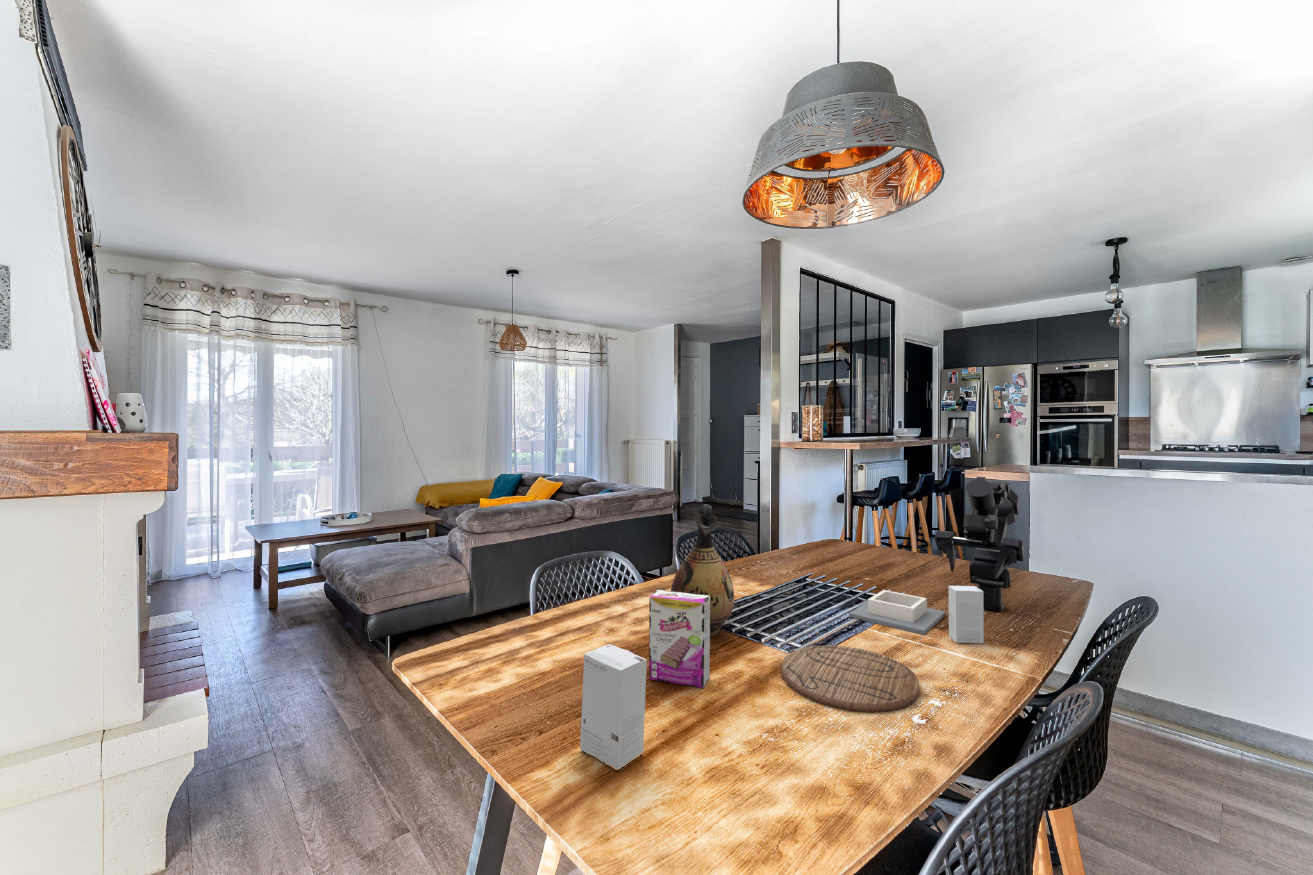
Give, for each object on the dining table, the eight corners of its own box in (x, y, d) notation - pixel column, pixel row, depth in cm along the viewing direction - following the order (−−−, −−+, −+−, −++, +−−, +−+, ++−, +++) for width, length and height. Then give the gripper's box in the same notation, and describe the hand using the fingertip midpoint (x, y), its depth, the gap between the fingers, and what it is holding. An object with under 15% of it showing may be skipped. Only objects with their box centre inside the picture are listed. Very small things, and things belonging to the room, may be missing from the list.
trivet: (910, 729, 88) (910, 718, 88) (763, 691, 101) (763, 681, 101) (925, 671, 110) (925, 661, 110) (802, 645, 123) (802, 637, 123)
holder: (883, 602, 148) (883, 589, 148) (926, 611, 141) (926, 598, 141) (867, 612, 140) (868, 599, 140) (913, 623, 133) (913, 608, 133)
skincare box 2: (974, 637, 126) (975, 585, 126) (984, 644, 122) (984, 591, 122) (947, 636, 127) (947, 585, 127) (955, 643, 123) (956, 590, 123)
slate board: (875, 600, 153) (875, 597, 153) (945, 615, 141) (945, 611, 141) (849, 616, 140) (849, 613, 140) (924, 634, 128) (924, 630, 128)
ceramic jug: (738, 643, 123) (738, 511, 123) (670, 642, 123) (670, 510, 123) (729, 617, 140) (729, 500, 140) (669, 616, 140) (669, 500, 140)
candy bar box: (647, 680, 105) (647, 596, 104) (656, 669, 109) (656, 588, 109) (704, 689, 101) (704, 602, 101) (710, 678, 106) (710, 594, 105)
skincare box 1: (579, 751, 82) (579, 653, 82) (608, 734, 86) (607, 641, 86) (619, 774, 76) (619, 669, 76) (647, 754, 81) (647, 655, 81)
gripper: (936, 498, 140) (924, 548, 132) (1023, 505, 128) (1016, 560, 120) (943, 525, 146) (932, 574, 138) (1027, 534, 134) (1020, 588, 126)
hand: (973, 573), depth 130 cm, fingers open, 9 cm apart
